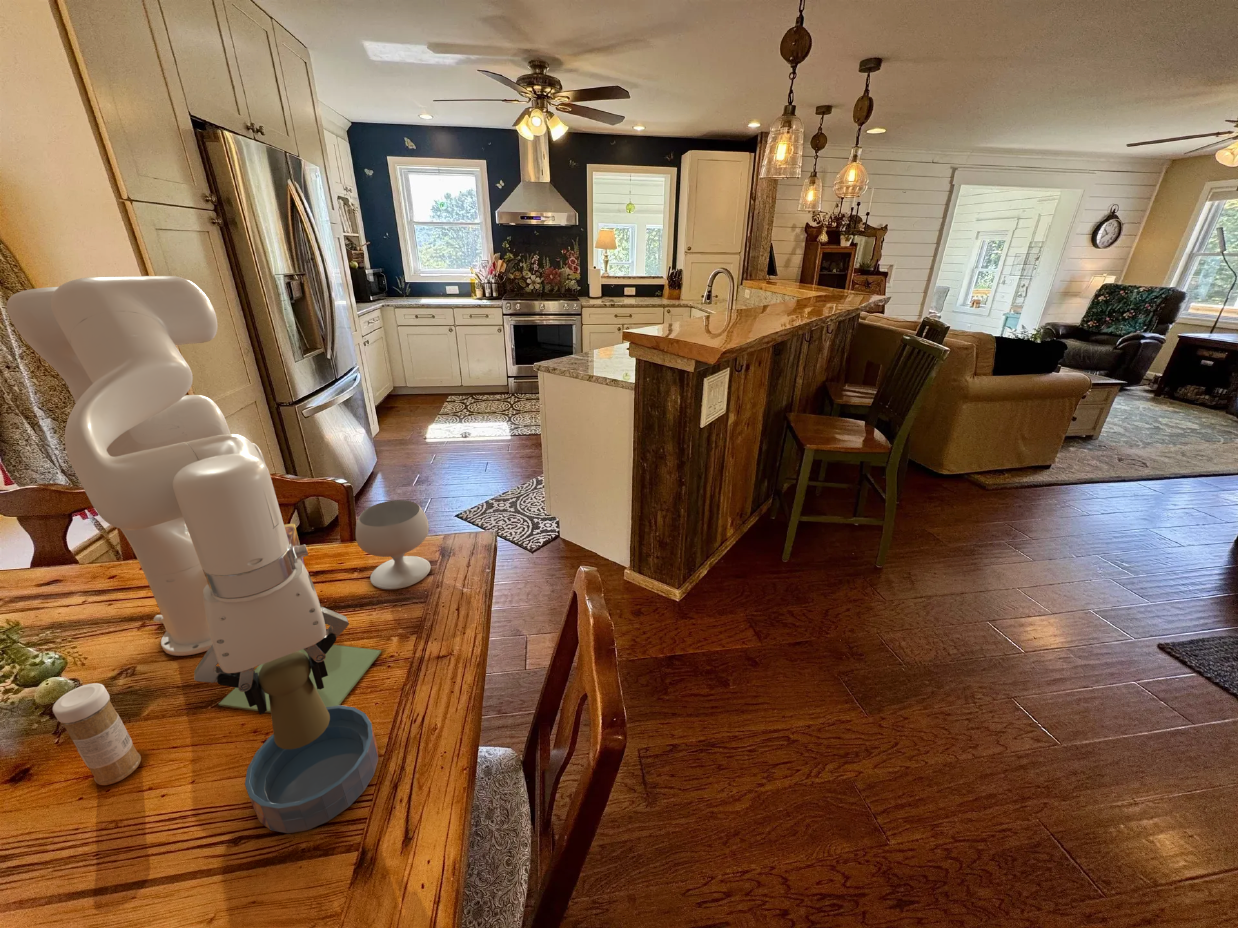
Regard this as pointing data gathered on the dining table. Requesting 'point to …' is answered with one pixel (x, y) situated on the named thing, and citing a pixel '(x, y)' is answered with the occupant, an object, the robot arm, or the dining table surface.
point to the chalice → (394, 542)
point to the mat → (342, 677)
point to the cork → (293, 701)
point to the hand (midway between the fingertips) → (291, 691)
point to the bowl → (313, 774)
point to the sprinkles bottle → (97, 733)
